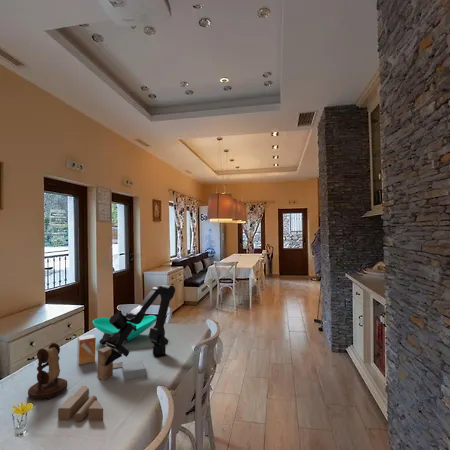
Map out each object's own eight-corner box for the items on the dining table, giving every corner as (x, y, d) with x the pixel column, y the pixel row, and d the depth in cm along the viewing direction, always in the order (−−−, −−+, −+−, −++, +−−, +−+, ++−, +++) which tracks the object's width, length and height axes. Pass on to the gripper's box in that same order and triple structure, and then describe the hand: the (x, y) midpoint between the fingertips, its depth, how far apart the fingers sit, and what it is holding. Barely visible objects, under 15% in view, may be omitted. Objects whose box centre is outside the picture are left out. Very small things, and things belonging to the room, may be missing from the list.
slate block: (142, 368, 154) (142, 360, 154) (145, 376, 145) (145, 368, 145) (122, 371, 150) (122, 363, 150) (123, 380, 141) (123, 372, 141)
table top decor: (157, 330, 212) (157, 311, 213) (156, 345, 185) (156, 323, 186) (97, 334, 204) (97, 314, 205) (87, 349, 177) (87, 327, 178)
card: (122, 362, 160) (122, 361, 160) (123, 367, 154) (123, 366, 154) (106, 365, 157) (106, 364, 157) (106, 369, 151) (106, 369, 151)
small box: (78, 365, 156) (79, 340, 157) (77, 361, 162) (77, 336, 162) (95, 361, 161) (95, 337, 161) (93, 357, 166) (93, 334, 167)
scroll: (50, 403, 122) (51, 353, 122) (18, 400, 124) (19, 351, 125) (74, 385, 136) (75, 340, 137) (46, 382, 139) (47, 338, 139)
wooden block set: (56, 407, 110) (81, 382, 128) (56, 422, 110) (81, 396, 128) (101, 407, 110) (120, 383, 128) (101, 423, 110) (120, 396, 128)
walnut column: (107, 372, 148) (107, 346, 148) (112, 376, 145) (113, 349, 145) (97, 376, 144) (97, 349, 144) (102, 380, 141) (103, 352, 141)
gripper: (102, 322, 154) (81, 350, 145) (123, 329, 142) (101, 360, 134) (116, 333, 160) (96, 361, 151) (137, 341, 148) (117, 372, 139)
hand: (102, 363), depth 144 cm, fingers closed on walnut column, 5 cm apart
